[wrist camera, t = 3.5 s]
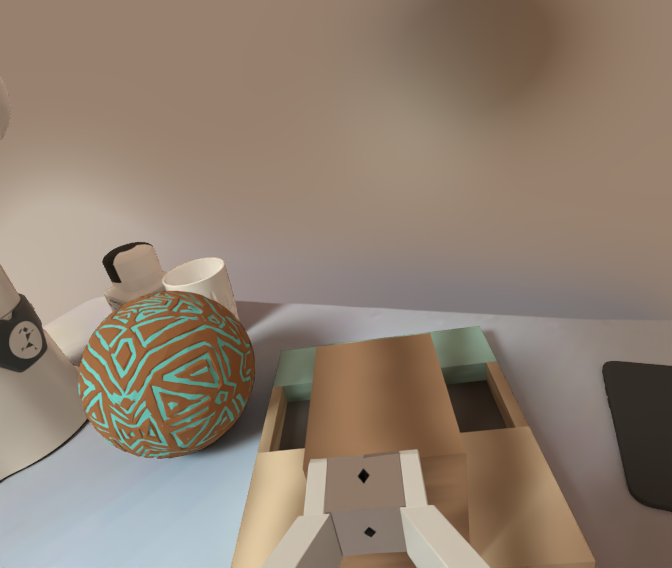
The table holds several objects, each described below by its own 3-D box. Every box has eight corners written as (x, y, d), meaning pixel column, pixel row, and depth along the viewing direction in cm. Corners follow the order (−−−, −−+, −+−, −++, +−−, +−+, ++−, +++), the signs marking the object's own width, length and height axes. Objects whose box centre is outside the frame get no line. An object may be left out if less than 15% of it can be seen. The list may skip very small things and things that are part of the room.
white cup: (243, 313, 62) (223, 252, 57) (247, 342, 55) (225, 274, 50) (190, 328, 60) (165, 267, 56) (187, 359, 53) (158, 292, 49)
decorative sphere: (281, 371, 48) (246, 253, 41) (255, 489, 35) (197, 344, 28) (159, 386, 50) (105, 275, 43) (90, 504, 36) (-4, 370, 29)
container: (124, 336, 62) (84, 257, 56) (168, 309, 67) (136, 234, 61) (151, 349, 57) (112, 264, 51) (197, 319, 62) (166, 239, 56)
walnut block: (336, 578, 25) (302, 468, 21) (339, 444, 34) (316, 347, 30) (470, 569, 25) (466, 453, 20) (438, 435, 33) (430, 332, 29)
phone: (631, 499, 28) (600, 359, 40) (629, 507, 29) (599, 365, 41) (776, 528, 26) (697, 367, 37) (771, 536, 26) (694, 375, 38)
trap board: (237, 606, 27) (226, 585, 26) (286, 367, 48) (281, 350, 47) (590, 584, 25) (595, 561, 24) (479, 344, 46) (479, 325, 45)
